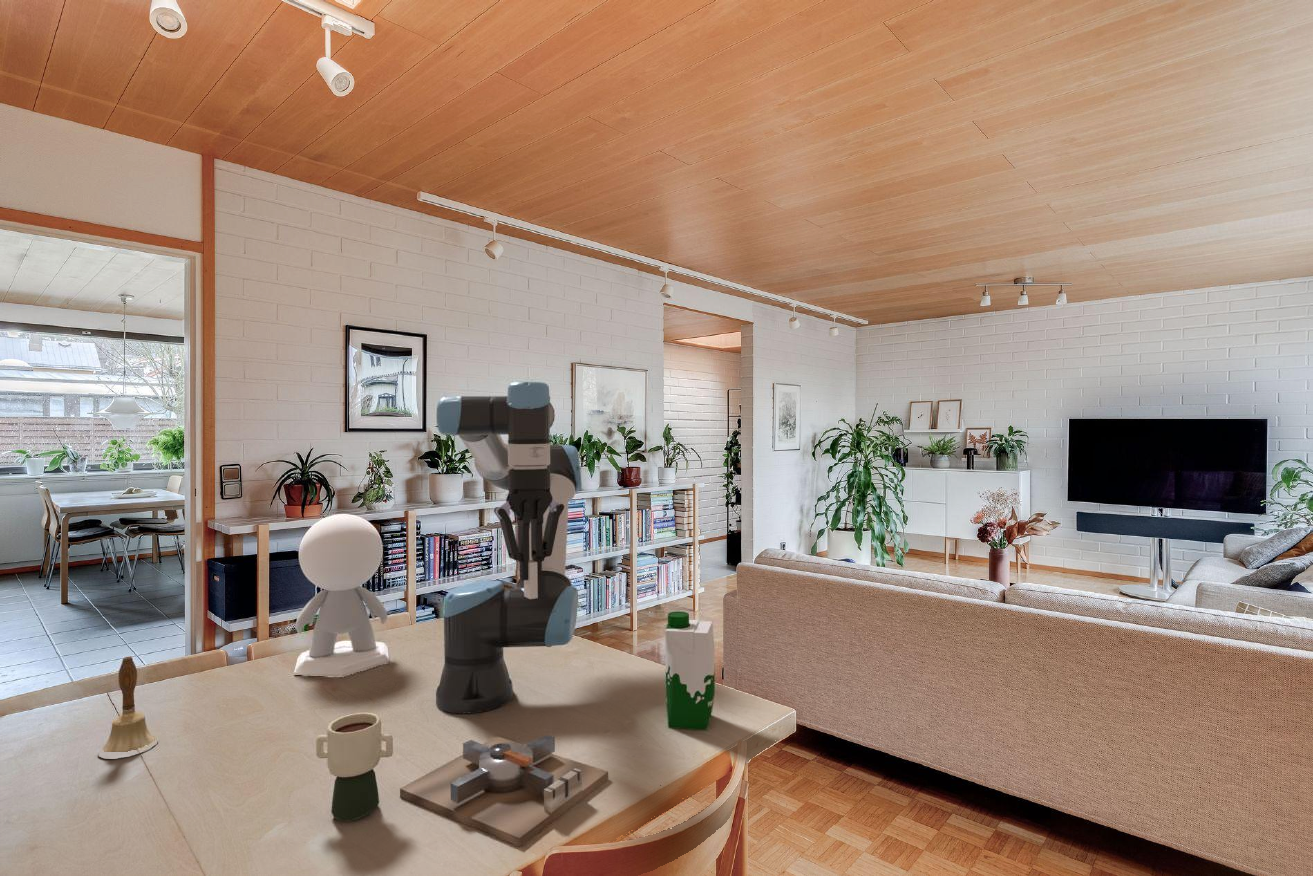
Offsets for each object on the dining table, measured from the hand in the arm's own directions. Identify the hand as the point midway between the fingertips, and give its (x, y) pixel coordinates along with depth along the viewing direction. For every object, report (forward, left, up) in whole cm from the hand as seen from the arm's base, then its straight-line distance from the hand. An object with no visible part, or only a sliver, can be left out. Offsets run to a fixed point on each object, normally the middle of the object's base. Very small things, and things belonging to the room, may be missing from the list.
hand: (530, 597), depth 123 cm
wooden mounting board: (+10, -17, -24) cm, 31 cm away
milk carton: (+23, +18, -25) cm, 38 cm away
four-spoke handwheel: (+10, -17, -23) cm, 30 cm away
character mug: (-4, -33, -25) cm, 41 cm away
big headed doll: (-64, +5, -25) cm, 69 cm away
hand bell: (-56, -41, -25) cm, 74 cm away
